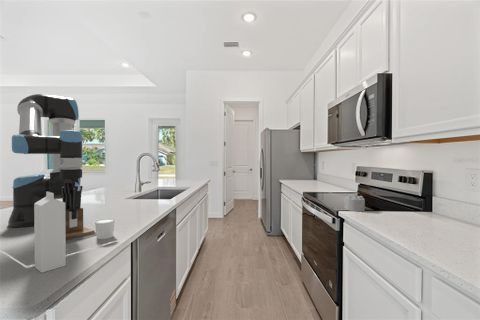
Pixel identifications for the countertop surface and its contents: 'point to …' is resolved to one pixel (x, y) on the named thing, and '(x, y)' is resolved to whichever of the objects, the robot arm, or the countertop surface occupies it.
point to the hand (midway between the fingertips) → (71, 226)
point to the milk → (49, 233)
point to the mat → (81, 238)
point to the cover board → (79, 233)
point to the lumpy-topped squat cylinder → (355, 203)
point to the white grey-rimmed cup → (104, 228)
